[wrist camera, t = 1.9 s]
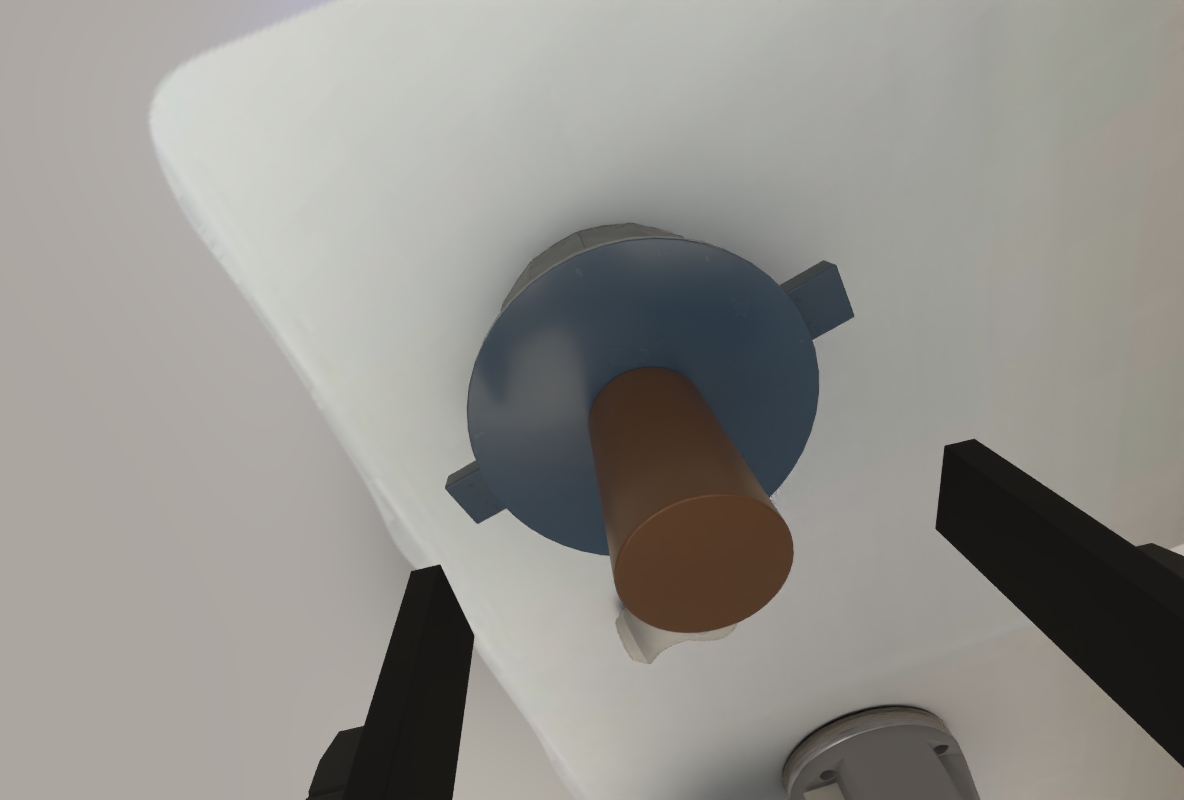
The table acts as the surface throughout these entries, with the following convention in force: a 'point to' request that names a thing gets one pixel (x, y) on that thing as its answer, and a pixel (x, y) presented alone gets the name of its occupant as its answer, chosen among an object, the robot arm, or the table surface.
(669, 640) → the mannequin head
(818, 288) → the tin
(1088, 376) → the table surface
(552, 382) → the tin lid
